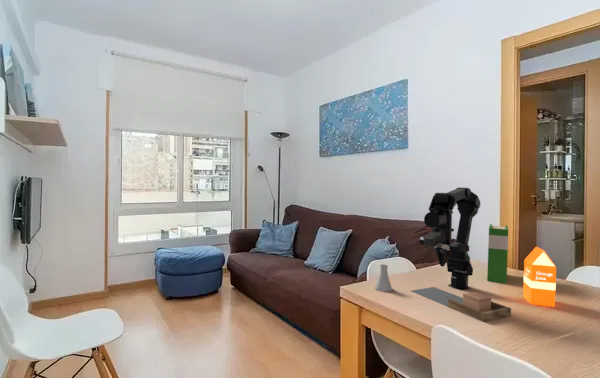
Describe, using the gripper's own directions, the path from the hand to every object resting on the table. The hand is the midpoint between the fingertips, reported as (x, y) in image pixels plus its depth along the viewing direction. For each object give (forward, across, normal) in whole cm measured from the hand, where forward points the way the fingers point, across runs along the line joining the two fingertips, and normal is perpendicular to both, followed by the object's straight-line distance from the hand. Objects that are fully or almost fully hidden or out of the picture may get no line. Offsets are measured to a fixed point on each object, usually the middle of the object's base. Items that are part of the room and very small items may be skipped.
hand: (442, 266), depth 127 cm
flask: (+12, -16, -15) cm, 25 cm away
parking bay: (+12, +15, -1) cm, 19 cm away
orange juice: (+12, +18, +30) cm, 37 cm away
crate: (+12, +15, 0) cm, 19 cm away
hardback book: (+12, -9, +47) cm, 49 cm away
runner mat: (+12, +6, 0) cm, 14 cm away
